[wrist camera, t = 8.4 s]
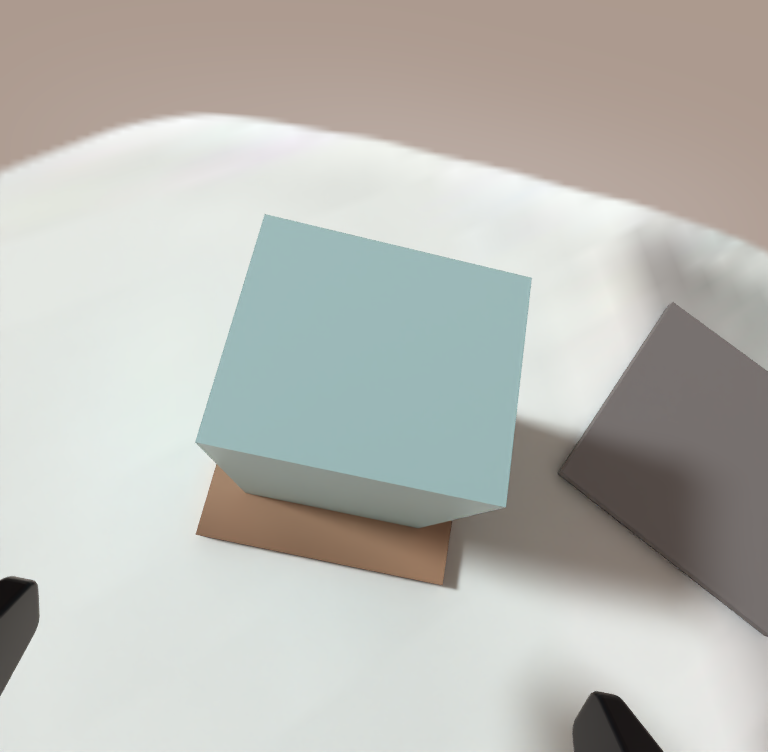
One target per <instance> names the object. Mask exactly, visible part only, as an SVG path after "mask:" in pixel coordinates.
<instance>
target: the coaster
mask: <svg viewBox="0 0 768 752" xmlns="http://www.w3.org/2000/svg"><path fill="white" fill-rule="evenodd" d="M451 524H452V520H451V521H447V522H443V523H439V524H434V525H430V526H426V527H422V528H414V527H410V526H405V525H400V524H395V523H390V522H385V521H380V520H375V519H370V518H366V517H361V516H356V515H351V514H346V513H341V512H336V511H331V510H326V509H322V508H317V507H312V506H307V505H302V504H297V503H292V502H287V501H283V500H278V499H273V498H268V497H263V496H258V495H253V494H248V493H245V492H244V491H243V490H242V489H241V488H240V487H239V486H238V485H237V484H236V483H235V482H234V481H233V480H232V479H231V478H230V477H229V476H228V475H227V474H226V473H225V472H224V471H223V470H222V469H221V468H220V467H219V466H218V465H217V464H216V468H215V471H214V474H213V478H212V481H211V484H210V488H209V491H208V495H207V498H206V501H205V505H204V508H203V511H202V515H201V518H200V522H199V525H198V528H197V532H196V535H201V536H206V537H211V538H215V539H220V540H225V541H230V542H235V543H240V544H245V545H249V546H254V547H259V548H264V549H269V550H274V551H279V552H283V553H288V554H293V555H298V556H303V557H308V558H312V559H317V560H322V561H327V562H332V563H337V564H342V565H346V566H351V567H356V568H361V569H366V570H371V571H376V572H380V573H385V574H390V575H395V576H400V577H405V578H410V579H414V580H419V581H424V582H429V583H434V584H439V585H443V578H444V571H445V565H446V558H447V551H448V545H449V538H450V531H451Z"/></svg>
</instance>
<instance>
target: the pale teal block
mask: <svg viewBox="0 0 768 752" xmlns="http://www.w3.org/2000/svg"><path fill="white" fill-rule="evenodd" d="M531 280H532V278H530V277H526V276H522V275H517V274H513V273H509V272H505V271H501V270H497V269H492V268H488V267H484V266H480V265H476V264H471V263H467V262H463V261H459V260H455V259H450V258H446V257H442V256H438V255H434V254H429V253H425V252H421V251H417V250H413V249H409V248H404V247H400V246H396V245H392V244H388V243H383V242H379V241H375V240H371V239H367V238H362V237H358V236H354V235H350V234H346V233H342V232H337V231H333V230H329V229H325V228H321V227H316V226H312V225H308V224H304V223H300V222H295V221H291V220H287V219H283V218H279V217H274V216H270V215H266V214H265V216H264V219H263V222H262V225H261V229H260V232H259V235H258V238H257V242H256V245H255V248H254V252H253V255H252V258H251V261H250V265H249V268H248V271H247V274H246V278H245V281H244V284H243V288H242V291H241V294H240V297H239V301H238V304H237V307H236V311H235V314H234V317H233V320H232V324H231V327H230V330H229V333H228V337H227V340H226V343H225V347H224V350H223V353H222V356H221V360H220V363H219V366H218V369H217V373H216V376H215V379H214V383H213V386H212V389H211V392H210V396H209V399H208V402H207V406H206V409H205V412H204V415H203V419H202V422H201V425H200V428H199V432H198V435H197V438H196V442H195V443H196V444H197V445H198V446H199V447H200V448H201V449H202V450H203V451H204V452H205V453H206V454H207V455H208V456H209V457H210V458H211V459H212V460H213V461H214V462H215V463H216V464H217V465H218V466H219V467H220V468H221V469H222V470H223V471H224V472H225V473H226V474H227V475H228V476H229V477H230V478H231V479H232V480H233V481H234V482H235V483H236V484H237V485H238V486H239V487H240V488H241V489H242V490H243V491H244V492H245V493H248V494H253V495H258V496H263V497H268V498H273V499H278V500H283V501H287V502H292V503H297V504H302V505H307V506H312V507H317V508H322V509H326V510H331V511H336V512H341V513H346V514H351V515H356V516H361V517H366V518H370V519H375V520H380V521H385V522H390V523H395V524H400V525H405V526H410V527H414V528H422V527H426V526H430V525H434V524H439V523H443V522H447V521H451V520H455V519H459V518H464V517H468V516H472V515H476V514H480V513H485V512H489V511H493V510H497V509H501V508H505V507H506V502H507V493H508V485H509V476H510V467H511V458H512V449H513V440H514V431H515V422H516V413H517V404H518V395H519V387H520V378H521V369H522V360H523V351H524V342H525V333H526V324H527V315H528V306H529V297H530V288H531Z"/></svg>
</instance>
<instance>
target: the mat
mask: <svg viewBox="0 0 768 752" xmlns="http://www.w3.org/2000/svg"><path fill="white" fill-rule="evenodd" d="M558 474H559V475H560V476H562V477H563V478H564V479H566V480H567V481H568V482H569V483H571V484H572V485H573V486H574V487H576V488H577V489H578V490H580V491H581V492H582V493H583V494H585V495H586V496H587V497H588V498H590V499H591V500H592V501H594V502H595V503H596V504H597V505H599V506H600V507H601V508H602V509H604V510H605V511H606V512H608V513H609V514H610V515H611V516H613V517H614V518H615V519H616V520H618V521H619V522H620V523H622V524H623V525H624V526H625V527H627V528H628V529H629V530H630V531H632V532H633V533H634V534H636V535H637V536H638V537H639V538H641V539H642V540H643V541H644V542H646V543H647V544H648V545H650V546H651V547H652V548H653V549H655V550H656V551H657V552H658V553H660V554H661V555H662V556H664V557H665V558H666V559H667V560H669V561H670V562H671V563H672V564H674V565H675V566H676V567H678V568H679V569H680V570H681V571H683V572H684V573H685V574H686V575H688V576H689V577H690V578H692V579H693V580H694V581H695V582H697V583H698V584H699V585H700V586H702V587H703V588H704V589H706V590H707V591H708V592H709V593H711V594H712V595H713V596H714V597H716V598H717V599H718V600H720V601H721V602H722V603H723V604H725V605H726V606H727V607H728V608H730V609H731V610H732V611H734V612H735V613H736V614H737V615H739V616H740V617H741V618H742V619H744V620H745V621H746V622H748V623H749V624H750V625H751V626H753V627H754V628H755V629H756V630H758V631H759V632H760V633H762V634H763V635H764V636H768V371H766V370H765V369H764V368H762V367H761V366H760V365H758V364H757V363H755V362H754V361H753V360H751V359H750V358H749V357H747V356H746V355H745V354H743V353H742V352H740V351H739V350H738V349H736V348H735V347H734V346H732V345H731V344H730V343H728V342H727V341H725V340H724V339H723V338H721V337H720V336H719V335H717V334H716V333H715V332H713V331H712V330H710V329H709V328H708V327H706V326H705V325H704V324H702V323H701V322H700V321H698V320H697V319H695V318H694V317H693V316H691V315H690V314H689V313H687V312H686V311H685V310H683V309H682V308H680V307H679V306H678V305H676V304H675V303H674V302H673V303H671V304H670V305H668V306H667V308H666V309H665V311H664V312H663V314H662V315H661V317H660V318H659V320H658V321H657V323H656V325H655V326H654V328H653V329H652V331H651V332H650V334H649V335H648V337H647V338H646V340H645V341H644V343H643V344H642V346H641V347H640V349H639V350H638V352H637V353H636V355H635V357H634V358H633V360H632V361H631V363H630V364H629V366H628V367H627V369H626V370H625V372H624V373H623V375H622V376H621V378H620V379H619V381H618V382H617V384H616V385H615V387H614V388H613V390H612V392H611V393H610V395H609V396H608V398H607V399H606V401H605V402H604V404H603V405H602V407H601V408H600V410H599V411H598V413H597V414H596V416H595V417H594V419H593V420H592V422H591V424H590V425H589V427H588V428H587V430H586V431H585V433H584V434H583V436H582V437H581V439H580V440H579V442H578V443H577V445H576V446H575V448H574V449H573V451H572V452H571V454H570V456H569V457H568V459H567V460H566V462H565V463H564V465H563V466H562V468H561V469H560V471H559V472H558Z"/></svg>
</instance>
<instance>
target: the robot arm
mask: <svg viewBox="0 0 768 752" xmlns="http://www.w3.org/2000/svg"><path fill="white" fill-rule="evenodd" d="M38 623H39V595H38V585H37V583H36V582H35V581H33V580H30V579H25V578H20V577H15V576H10V577H6V578H3V579H1V580H0V696H1V694H2V692H3V690H4V688H5V687H6V685H7V683H8V681H9V679H10V677H11V676H12V674H13V672H14V670H15V668H16V666H17V665H18V663H19V661H20V659H21V657H22V655H23V654H24V652H25V650H26V648H27V646H28V644H29V643H30V641H31V639H32V637H33V635H34V633H35V631H36V629H37V626H38ZM572 735H573V745H574V752H663V750H662V749H661V748H660V747H659V745H658V744H657V743H656V742H655V740H654V739H653V738H652V736H651V735H650V734H649V733H648V731H647V730H646V729H645V728H644V726H643V725H642V724H641V723H640V721H639V720H638V719H637V718H636V716H635V715H634V714H633V712H632V711H631V710H630V709H629V707H628V706H627V705H626V704H625V702H624V701H623V700H622V699H621V698H620V697H618V696H616V695H614V694H609V693H604V692H599V691H595V692H593V693H591V694H590V696H589V697H588V699H587V700H586V702H585V704H584V705H583V707H582V709H581V710H580V712H579V714H578V715H577V717H576V719H575V721H574V724H573V733H572Z"/></svg>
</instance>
